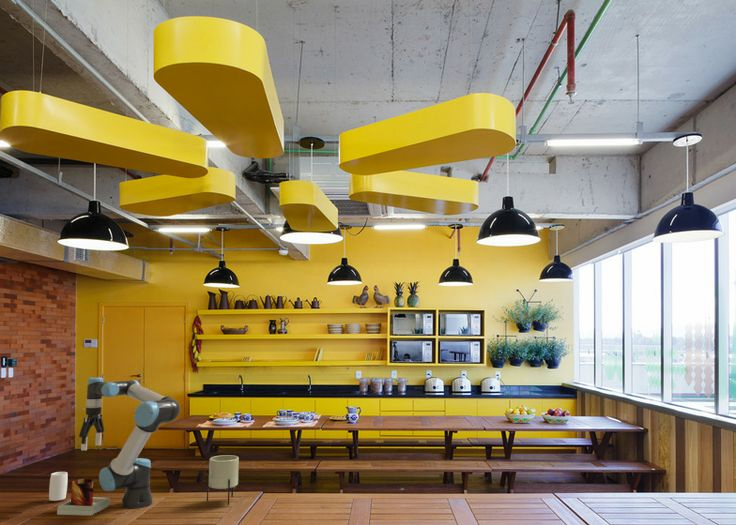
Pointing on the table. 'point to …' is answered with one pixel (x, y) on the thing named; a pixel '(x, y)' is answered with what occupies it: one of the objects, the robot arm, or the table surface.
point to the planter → (223, 473)
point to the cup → (58, 486)
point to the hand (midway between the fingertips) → (91, 447)
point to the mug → (82, 492)
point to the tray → (83, 507)
